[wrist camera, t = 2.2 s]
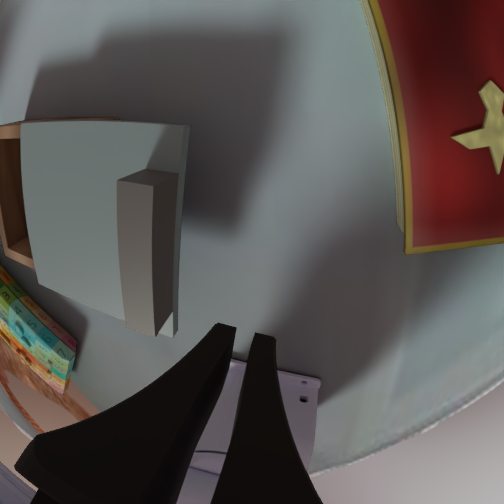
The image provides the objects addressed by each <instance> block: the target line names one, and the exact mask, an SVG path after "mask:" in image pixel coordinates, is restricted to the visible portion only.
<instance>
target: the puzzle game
mask: <svg viewBox="0 0 504 504" xmlns="http://www.w3.org/2000/svg"><path fill="white" fill-rule="evenodd" d="M0 336H1V337H2V338H3V339H4V341H5V342H6V343H7V344H8V345H9V346H10V347H11V348H12V349H13V350H14V351H15V352H16V354H17V355H18V356H19V357H20V358H21V361H22V362H23V363H24V364H25V365H26V364H27V365H28V366H29V367H31V368H32V369H33V370H34V371H35V372H36V373H37V374H38V375H39V376H40V377H41V378H42V379H43V380H44V381H46V382H47V383H48V384H49V385H50V386H51V387H52V388H53V389H55V390H56V391H57V392H58V393H61V394H63V395H64V394H65V392H66V391H67V389H68V385H69V381H70V377H71V372H72V368H73V364H74V359H75V355H76V345H77V340H76V339H74V338H73V337H72V336H71V335H70V334H69V333H67V332H66V331H65V330H64V329H63V328H62V327H61V326H60V325H58V324H57V323H56V322H55V321H54V320H53V319H52V318H51V317H50V316H49V315H48V314H47V313H45V312H44V311H43V310H42V309H41V308H40V307H39V306H38V305H37V304H36V303H35V302H34V301H33V300H32V299H31V298H30V297H29V296H28V295H27V294H26V293H25V292H24V291H23V289H22V288H21V287H20V286H19V285H18V284H17V283H16V282H15V281H14V280H13V279H12V278H11V276H10V275H9V274H8V273H7V272H6V271H5V270H4V269H3V267H2V266H0Z"/></svg>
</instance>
